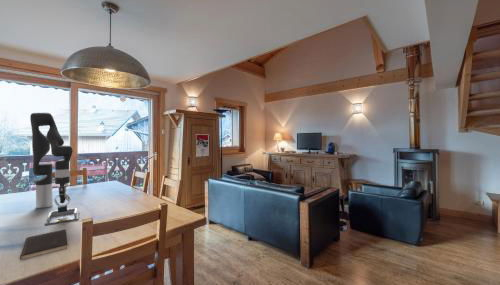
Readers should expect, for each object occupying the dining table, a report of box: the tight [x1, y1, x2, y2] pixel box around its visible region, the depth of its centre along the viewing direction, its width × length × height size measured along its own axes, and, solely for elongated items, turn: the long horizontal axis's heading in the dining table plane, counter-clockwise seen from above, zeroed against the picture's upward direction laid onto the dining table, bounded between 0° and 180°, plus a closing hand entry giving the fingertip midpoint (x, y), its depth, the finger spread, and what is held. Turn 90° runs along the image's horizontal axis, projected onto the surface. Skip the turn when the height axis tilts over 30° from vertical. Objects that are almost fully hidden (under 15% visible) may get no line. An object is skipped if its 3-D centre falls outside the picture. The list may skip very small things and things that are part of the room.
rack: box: [44, 207, 80, 226], centre depth 146 cm, size 18×16×4 cm
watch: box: [54, 193, 72, 213], centre depth 145 cm, size 6×8×11 cm
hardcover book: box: [19, 228, 68, 261], centre depth 111 cm, size 16×23×2 cm
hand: (62, 201), depth 146 cm, fingers closed on watch, 4 cm apart
